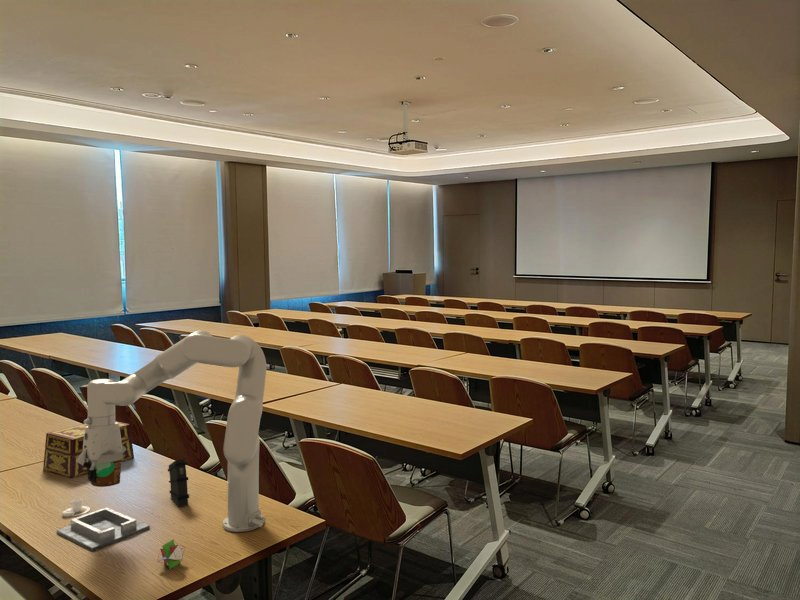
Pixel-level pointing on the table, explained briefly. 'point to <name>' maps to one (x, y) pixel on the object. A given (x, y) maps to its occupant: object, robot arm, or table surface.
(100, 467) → the food container
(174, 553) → the geometric puzzle
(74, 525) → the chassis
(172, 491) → the black tall block
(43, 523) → the table surface
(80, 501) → the white curved piece
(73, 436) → the decorative box
